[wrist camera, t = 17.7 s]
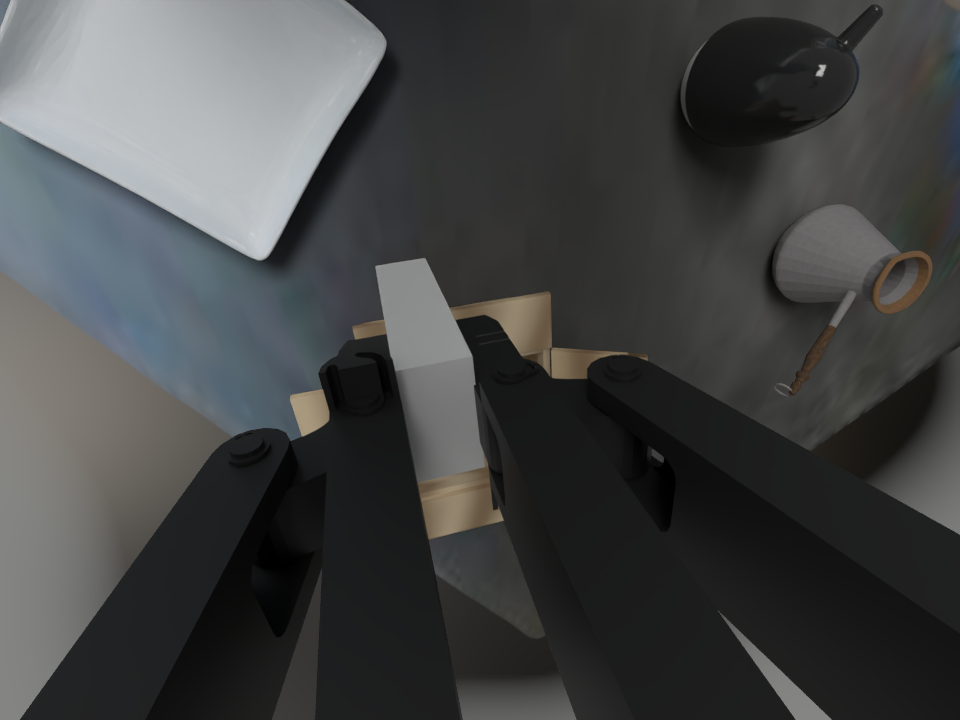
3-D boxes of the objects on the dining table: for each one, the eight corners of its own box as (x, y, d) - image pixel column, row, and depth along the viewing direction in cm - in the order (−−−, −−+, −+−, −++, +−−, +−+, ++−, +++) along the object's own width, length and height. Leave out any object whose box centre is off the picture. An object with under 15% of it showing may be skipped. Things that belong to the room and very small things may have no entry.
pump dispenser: (779, 56, 49) (936, 42, 36) (717, 160, 53) (839, 182, 40) (705, -3, 45) (852, -42, 32) (643, 113, 49) (753, 121, 36)
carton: (343, 476, 60) (343, 560, 49) (288, 287, 48) (271, 343, 38) (519, 436, 63) (555, 507, 53) (507, 251, 52) (550, 293, 41)
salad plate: (104, -193, 32) (80, -222, 29) (390, 43, 42) (393, 39, 39) (-4, 106, 38) (-34, 107, 35) (270, 255, 47) (265, 266, 44)
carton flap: (637, 479, 48) (638, 474, 48) (647, 357, 41) (648, 354, 42) (554, 467, 50) (555, 462, 51) (551, 350, 44) (552, 347, 44)
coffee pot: (827, 177, 57) (969, 202, 44) (855, 249, 62) (988, 290, 49) (676, 305, 60) (767, 364, 47) (716, 363, 65) (807, 429, 53)
